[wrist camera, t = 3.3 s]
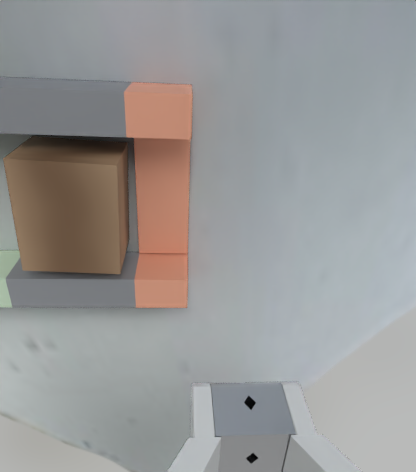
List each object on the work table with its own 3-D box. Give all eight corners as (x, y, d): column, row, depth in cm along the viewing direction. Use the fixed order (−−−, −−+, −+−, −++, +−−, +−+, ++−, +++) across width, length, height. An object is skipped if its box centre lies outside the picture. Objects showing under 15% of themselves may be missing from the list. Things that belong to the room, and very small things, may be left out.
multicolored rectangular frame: (191, 84, 20) (192, 94, 17) (186, 278, 26) (187, 307, 23) (-231, 67, 18) (-299, 75, 16) (-135, 276, 24) (-174, 307, 22)
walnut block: (128, 141, 21) (116, 165, 18) (129, 237, 24) (120, 274, 21) (33, 135, 21) (3, 158, 17) (46, 233, 24) (22, 270, 20)
